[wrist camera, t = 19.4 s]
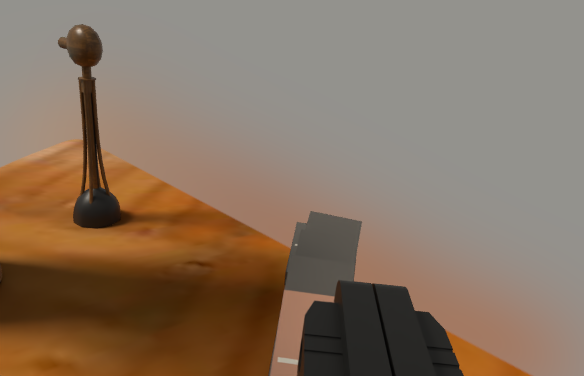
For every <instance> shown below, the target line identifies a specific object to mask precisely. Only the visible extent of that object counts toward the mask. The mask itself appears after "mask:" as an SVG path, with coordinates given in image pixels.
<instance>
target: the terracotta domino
mask: <svg viewBox="0 0 584 376" xmlns="http://www.w3.org/2000/svg"><path fill="white" fill-rule="evenodd" d="M314 300H315V301H324V302H334V296H327V295H319V294H312V293H305V292H297V291H290V290H284V294H283V300H282V306H281V312H280V318H279V324H278V330H277V336H276V342H275V349H274V355H273V361H272V367H271V373H270V376H297V367H298V360H299V352H300V345H301V338H302V331H303V324H304V317H305V314H306V313H307V311H308V309H309V308H310V306H311V305H312V303H313V302H314Z"/></svg>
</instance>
